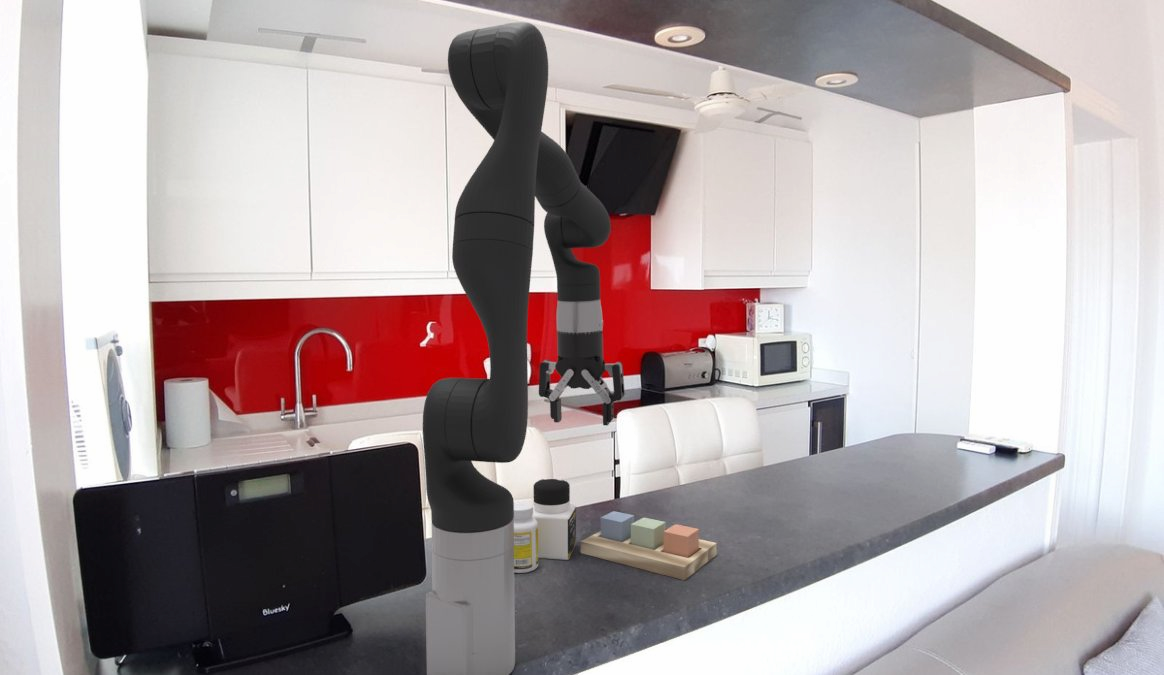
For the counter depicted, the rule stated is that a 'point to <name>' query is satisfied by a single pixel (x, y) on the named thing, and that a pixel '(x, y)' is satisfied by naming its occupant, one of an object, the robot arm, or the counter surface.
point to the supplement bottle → (525, 538)
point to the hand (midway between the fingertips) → (582, 422)
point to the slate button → (616, 526)
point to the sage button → (647, 533)
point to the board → (649, 556)
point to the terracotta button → (681, 540)
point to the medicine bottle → (554, 519)
